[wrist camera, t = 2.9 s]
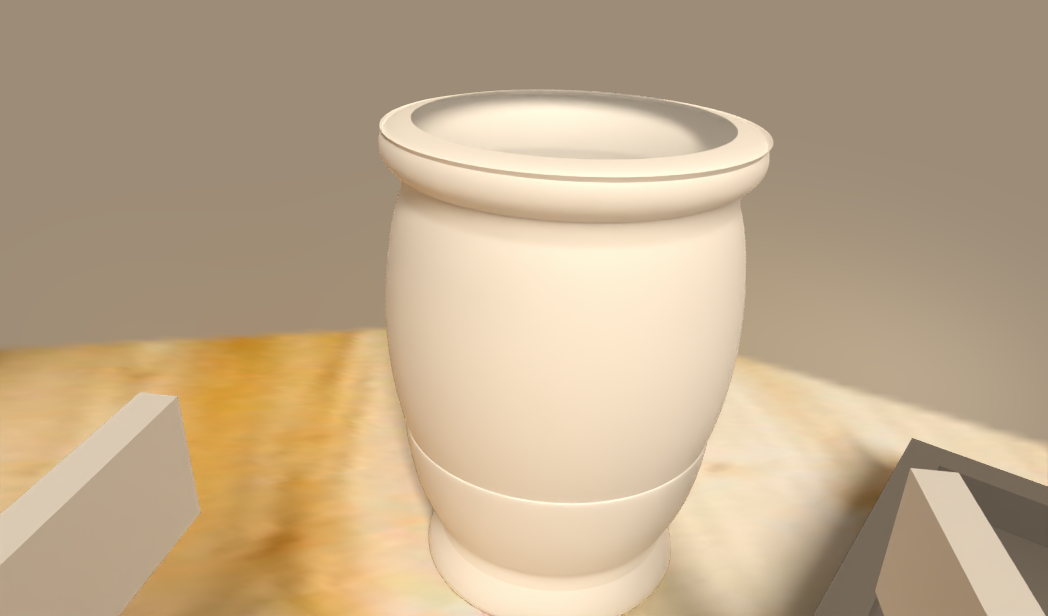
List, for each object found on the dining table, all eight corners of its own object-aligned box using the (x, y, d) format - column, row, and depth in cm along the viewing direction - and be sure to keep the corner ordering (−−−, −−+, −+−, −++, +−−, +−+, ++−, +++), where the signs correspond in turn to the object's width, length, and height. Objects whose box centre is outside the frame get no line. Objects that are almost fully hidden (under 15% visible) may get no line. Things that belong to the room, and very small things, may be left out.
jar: (692, 469, 31) (750, 95, 25) (709, 689, 22) (809, 185, 16) (439, 440, 33) (431, 77, 26) (356, 636, 23) (311, 151, 17)
